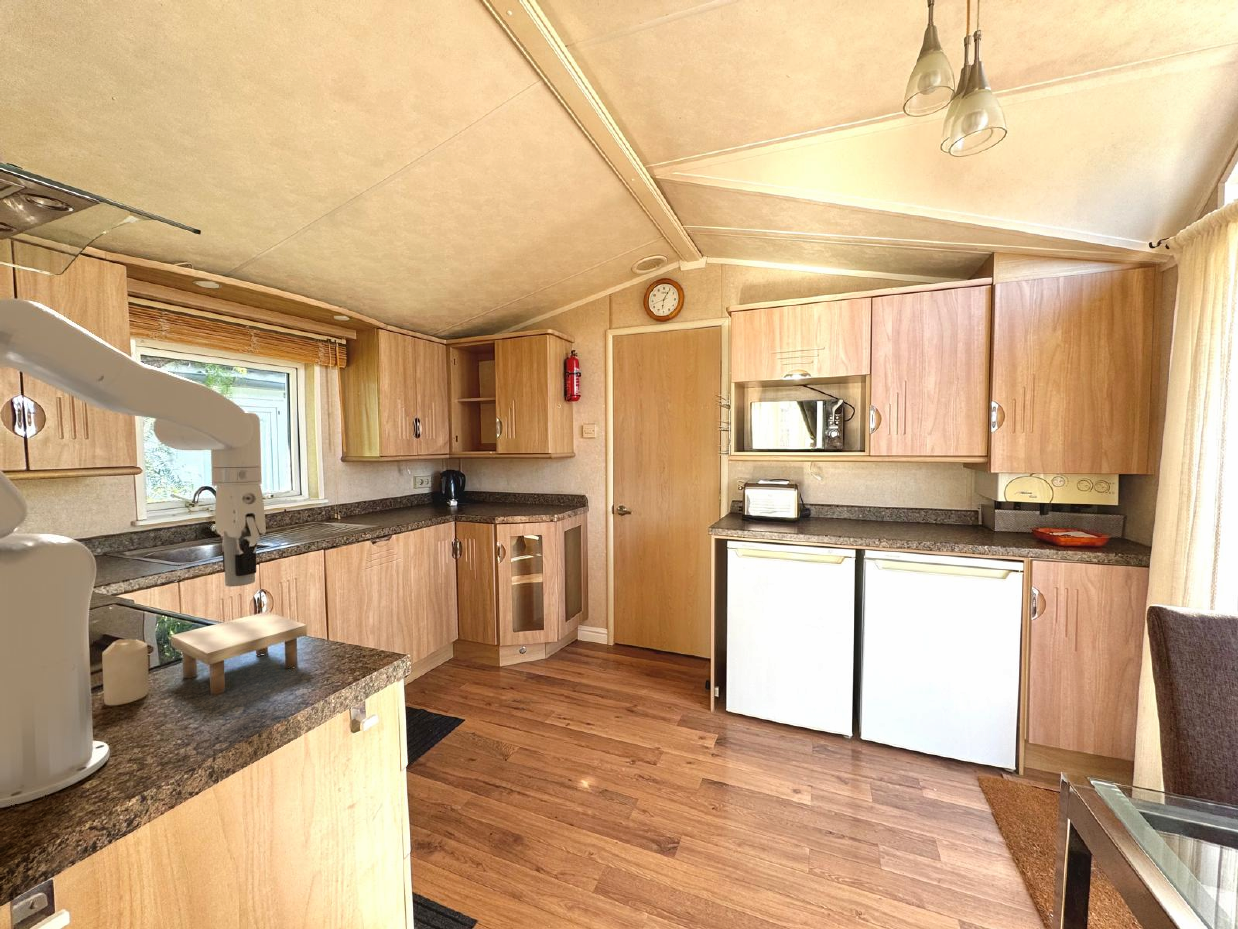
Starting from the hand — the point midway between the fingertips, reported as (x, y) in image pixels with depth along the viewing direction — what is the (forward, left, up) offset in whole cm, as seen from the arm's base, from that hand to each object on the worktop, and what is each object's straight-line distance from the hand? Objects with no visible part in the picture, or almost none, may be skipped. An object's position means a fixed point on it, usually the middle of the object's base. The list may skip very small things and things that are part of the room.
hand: (239, 571), depth 96 cm
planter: (0, 0, -2) cm, 2 cm away
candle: (-15, +5, -19) cm, 25 cm away
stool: (0, 0, -19) cm, 19 cm away
